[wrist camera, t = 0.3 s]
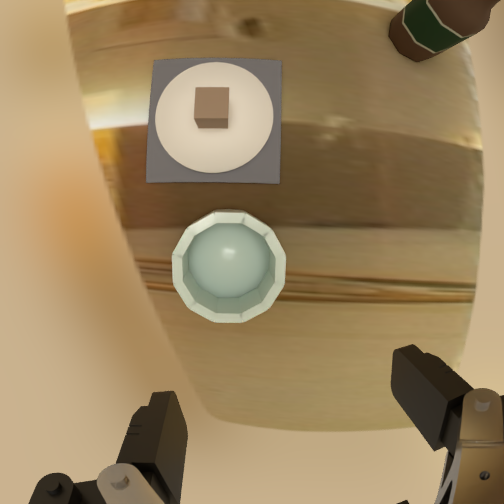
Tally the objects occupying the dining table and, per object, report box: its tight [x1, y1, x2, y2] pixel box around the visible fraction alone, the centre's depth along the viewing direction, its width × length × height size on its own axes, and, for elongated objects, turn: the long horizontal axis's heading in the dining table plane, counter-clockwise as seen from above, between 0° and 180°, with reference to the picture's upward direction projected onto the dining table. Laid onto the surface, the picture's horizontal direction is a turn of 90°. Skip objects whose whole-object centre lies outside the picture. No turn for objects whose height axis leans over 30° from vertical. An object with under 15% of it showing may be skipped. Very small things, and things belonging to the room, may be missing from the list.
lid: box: [155, 62, 273, 173], centre depth 31 cm, size 13×13×6 cm
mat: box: [146, 58, 282, 184], centre depth 34 cm, size 15×15×1 cm
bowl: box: [172, 209, 286, 323], centre depth 34 cm, size 11×11×6 cm
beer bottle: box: [389, 0, 500, 62], centre depth 22 cm, size 8×8×24 cm
